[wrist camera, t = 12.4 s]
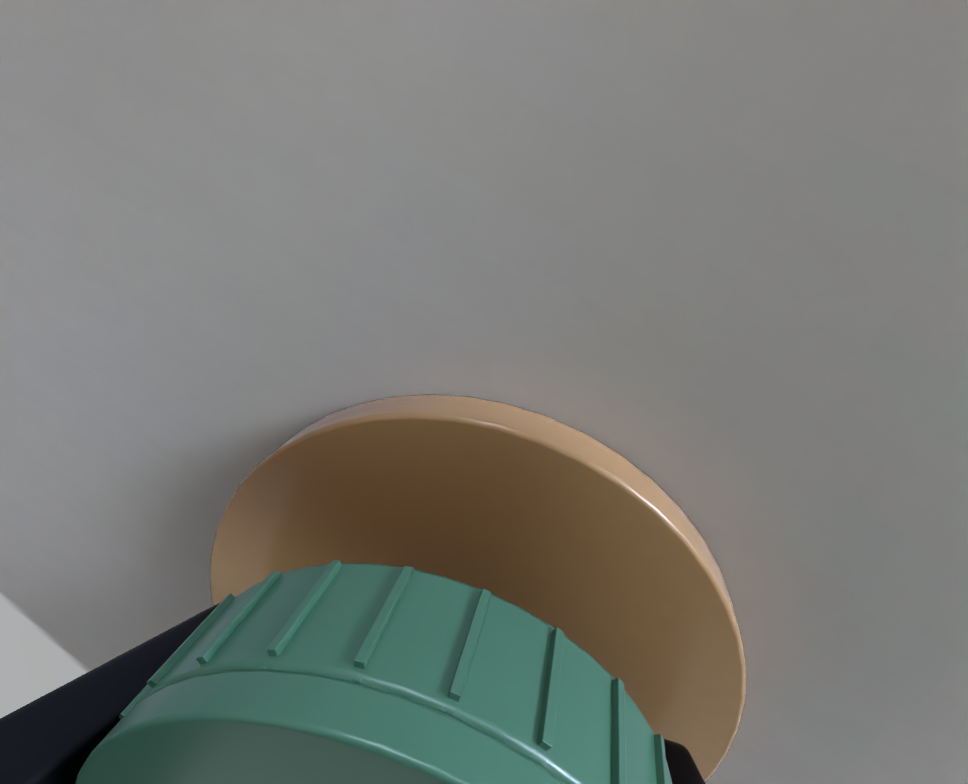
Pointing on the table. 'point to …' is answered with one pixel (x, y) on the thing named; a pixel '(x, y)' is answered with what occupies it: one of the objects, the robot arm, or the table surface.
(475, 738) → the jar lid
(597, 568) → the coaster
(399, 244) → the table surface
